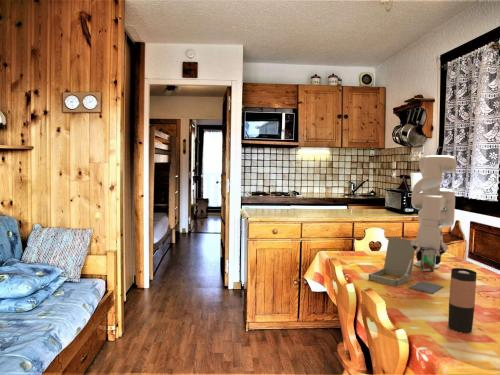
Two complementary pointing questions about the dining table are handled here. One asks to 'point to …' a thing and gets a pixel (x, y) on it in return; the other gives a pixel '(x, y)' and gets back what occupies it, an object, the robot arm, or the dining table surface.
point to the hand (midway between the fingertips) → (428, 262)
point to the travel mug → (462, 300)
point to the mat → (426, 287)
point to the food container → (427, 260)
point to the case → (396, 262)
